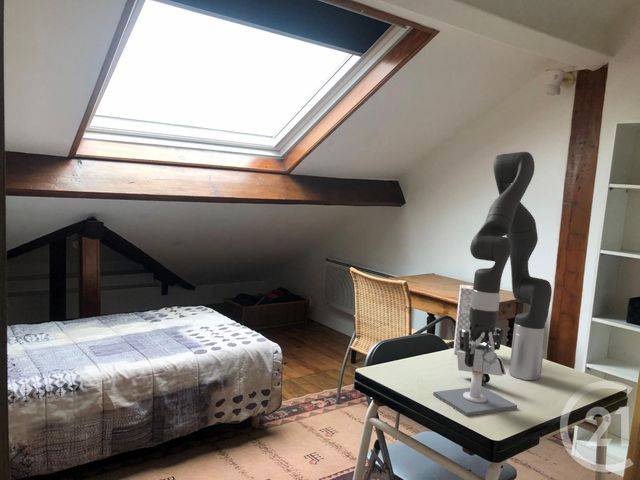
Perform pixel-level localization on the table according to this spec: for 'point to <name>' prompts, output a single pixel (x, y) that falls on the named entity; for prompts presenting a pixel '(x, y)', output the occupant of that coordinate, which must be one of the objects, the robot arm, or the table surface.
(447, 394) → the panel
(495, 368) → the bracket
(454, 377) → the table surface
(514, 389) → the table surface
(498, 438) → the table surface
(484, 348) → the grey octagonal hollow block
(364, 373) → the table surface
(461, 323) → the box
